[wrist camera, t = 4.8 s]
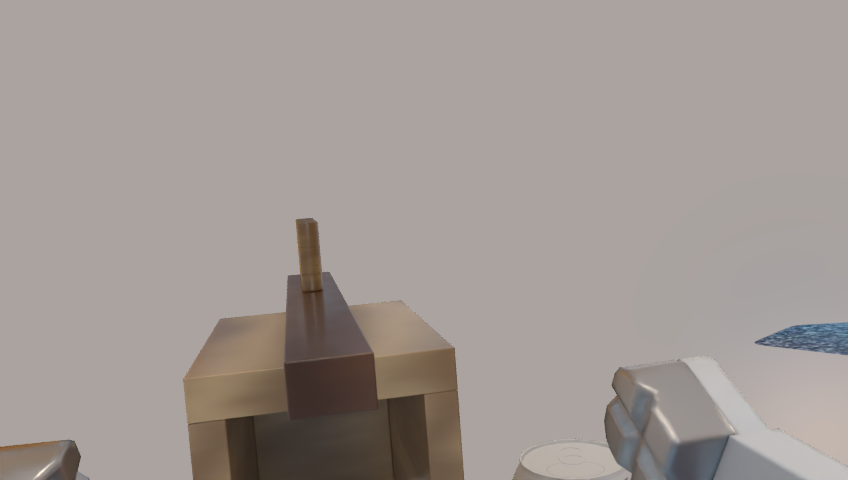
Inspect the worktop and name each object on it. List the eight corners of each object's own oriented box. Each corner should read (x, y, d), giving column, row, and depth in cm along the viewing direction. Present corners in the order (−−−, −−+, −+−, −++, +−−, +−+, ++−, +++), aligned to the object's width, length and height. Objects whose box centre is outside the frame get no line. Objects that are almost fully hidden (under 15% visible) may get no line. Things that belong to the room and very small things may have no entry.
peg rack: (288, 421, 23) (272, 240, 23) (290, 303, 51) (282, 219, 50) (378, 410, 24) (364, 233, 23) (332, 299, 51) (325, 216, 51)
